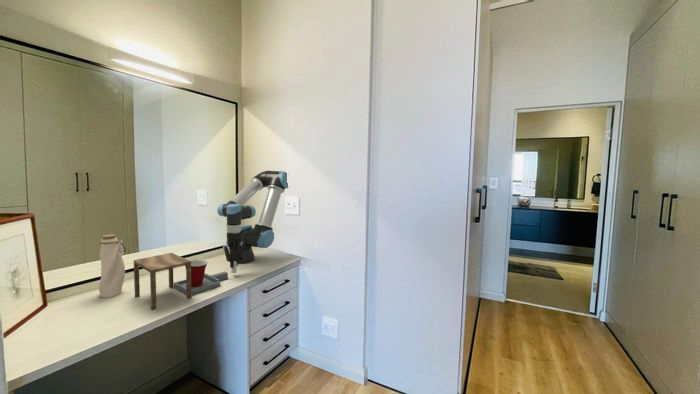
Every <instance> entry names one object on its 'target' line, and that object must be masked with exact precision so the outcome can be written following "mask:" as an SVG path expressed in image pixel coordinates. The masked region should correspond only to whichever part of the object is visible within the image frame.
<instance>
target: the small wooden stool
mask: <svg viewBox="0 0 700 394" xmlns="http://www.w3.org/2000/svg"><path fill="white" fill-rule="evenodd" d="M185 265H186V268H185V273H186V274H185V278H186V279H185V280H186V292H187V294H186V299H191V298H192V295H191V260H188V259H187V258H184V257H182V256H180V255H177V254H175V253H174V252H168V253H163V254H159V255H153V256H149V257H143V258H138V259H133V279H134V281H133V282H134V284H133V285H134V297H135V298H139V297H141V293H140V292H141V291H140V287H141V285H140V267H141V268H142V269H144V270H145V271H147V272H149V279H150V280H149V281H150V282H149V283H150V288H149V289H150V310H151V311H154V310H157V307H158V306H157V277H156V275H157V274H156V273H158V272H163V271H166V270H168V287H169V288H170V289H171V288H175V287H174V269H175V268H179V267H184V266H185Z"/></svg>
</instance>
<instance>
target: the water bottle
mask: <svg viewBox="0 0 700 394" xmlns="http://www.w3.org/2000/svg"><path fill="white" fill-rule="evenodd" d="M98 244H99V245H100V249H99V259H100V266H101V267H100V281H99V283H98V291H99V295H100V297H101V298H112V297H116V296H119V295H121V294H122V292H123V285H124V282H125V277H126V276H125V274H126V267H125V262H124V259H123V257H122V256H123V255H124V253H126V252H127V251H126V250H127V248H126V246H125V244H123V241H122V239H120V240H119V239H118V238H117V235H116V234H113V233H112V234H104V235H102V236H101V239H100V240H99V242H98Z"/></svg>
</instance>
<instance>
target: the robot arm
mask: <svg viewBox="0 0 700 394" xmlns="http://www.w3.org/2000/svg"><path fill="white" fill-rule="evenodd" d="M286 172H287V171H284V170H283V171H282V170H264V171H261V172H260V173H257V174H256V175H254V177H252V178H251V179H250V181H249V182H248V184H247V185H245V186H244V187H243V188H241V190H240V191H239V192H238V193H237V194H235V195H234V196H233V197H232V198H231V199H230V200H229V201H228V202H227V203H221V204H219V205H218V206H217V210H216V211H217V215H218V216H220V217H225V218H226V244H225V245H224V244H223V245H222V246H221V247H222V249H223V250H224V255H225V260H226V261H227V262H229V264H230V265H229V267H230V270H231V274H235V275H236V274H237V271H238V270H237V267H238V265H242V264H243V265H245V264H249V263H252V262H254V261H255V260H256V259H255V253H254V250H253V248H259V249H267V248H269V247H270V246H271V245H272V244H273V242H274V240H275V232H274V230H273V227H272V225H273V222H274V218H275V215H276V211H277V210H278V209H277V208H278V205H279V202H280V199H281V195H282V194H284V193H285V189H288V188H289V187H288V183H287V173H288V172H287V173H286ZM263 188H267V190H268V191H267V194H266V198H265V201H264V204H263V207H262V210H261V213H260V216H259V220H258V222H257V223H255V224H254V227H253V225H252V224H243V225H242V220H243V221H244V220H247V219H251V218H254V217H255V216H256V213H257V211H256V208H255V207H254V205H248V204H247V205H245V204H246V203H247V202H249V200H250V199H251V198H252V197H253V196H254V195H255V194H256V193H257V192H259V191H261V190H262V189H263Z"/></svg>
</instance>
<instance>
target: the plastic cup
mask: <svg viewBox="0 0 700 394" xmlns="http://www.w3.org/2000/svg"><path fill="white" fill-rule="evenodd" d="M190 261H191V287H198V286H201V285H202V283H203V278H204V273H206V268H207V265H208V263H209V261H207V260H204V259H193V260H190ZM184 266H185V268H184V269H186V265H184Z"/></svg>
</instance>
